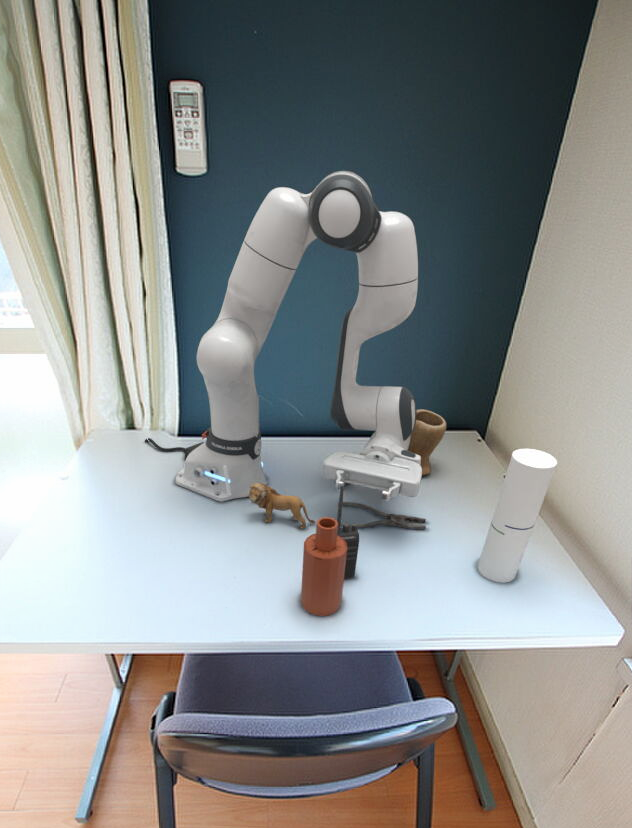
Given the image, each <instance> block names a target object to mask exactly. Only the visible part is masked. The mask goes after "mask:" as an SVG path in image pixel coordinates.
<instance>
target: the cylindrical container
mask: <svg viewBox="0 0 632 828" xmlns="http://www.w3.org/2000/svg"><path fill="white" fill-rule="evenodd" d="M508 463H509V464H508V467H507V470H506V472H505V476H504V480H503V482H502V485H501V489H500V492H499V495H498V499H497V502H496V506H495V508H494V512H493V515H492V519H491V522H490V525H489V528H488V531H487V535H486V537H485V541H484V545H483V546H482V547H483V548H482V551H481V553H480V557H479V561H478V564H477V570H478V572H479V574H480V575H482V577H484V578H485V579H487V580H488V581H489V580H490V581H491V582H495V583H502V584H503V583H510V582H512V581H513V580H515V579H516V576H517V573H518V570H519V568H520V565H521V562H522V559H523V557H524V554H525V552H526V549H527V546H528V543H529V540H530V538H531V535H532V532H533V529H534V527H535V525H536V522H537V519H538V516H539V513H540V511H541V508H542V505H543V503H544V500H545V497H546V495H547V492H548V490H549V487H550V484H551V481H552V478H553V477H554V473H555V470H556V468H557V466H558V460H557V459H556V457H555V456H553V455H552V454H550V453H548V452H545V451H543V450H540V449H539V450H538V449H536V448H535V449H534V448H517V449H515V450H513V452H512V453H511V457H510V461H509V462H508Z"/></svg>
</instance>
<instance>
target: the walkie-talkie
mask: <svg viewBox="0 0 632 828" xmlns="http://www.w3.org/2000/svg"><path fill="white" fill-rule="evenodd" d="M344 490H345V487H344V485H341V488H340V489H339V497H338V505H337V513H336V521H337V522H338V531H337V535H338V536H340V537H341V538H343V539H344V541H345V542H346V543H347V556H346V565H345V573H344V579H347V578H348V579H350V578H355V575H356V569H357V560H358V553H359V547H360V532H359V530H358V529H357V524H358V523H351V524H352V527H350V525H349V524H350V522H343V523H344V524H343V526H342V525H341V522H342V518H343V516H342V515H343V505H342V504H343V502H344V492H345V491H344Z"/></svg>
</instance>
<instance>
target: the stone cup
mask: <svg viewBox="0 0 632 828" xmlns="http://www.w3.org/2000/svg"><path fill="white" fill-rule="evenodd" d="M446 430H447V422H446V420H445V418H443V417H442V416H441V415H439V414H438V413H435V412H434V411H431V410H427V409H423V408H422V409H421V408H420V409H417V415H416V423H415V428H414V431H413V433H412V434H411V437H410V444H409V447H408V450H407V451H409V452H412V453H414V454H417V455H419V456H420V457H421V465H420V466H421V468H422V476H425V475H429V474H430V473H431V472H432V468H431V467H432V466H431V462H430V457H431V455H432V453H433V452H434V451H435V450H436V448H437V447H438V445H439V444H440V442H441V441H442V440H443V438H444V436H445V433H446Z"/></svg>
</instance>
